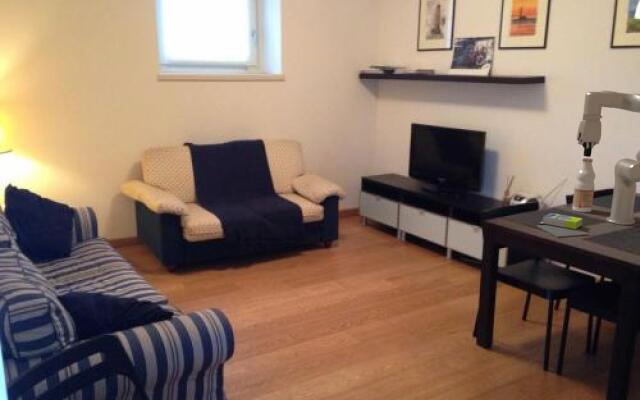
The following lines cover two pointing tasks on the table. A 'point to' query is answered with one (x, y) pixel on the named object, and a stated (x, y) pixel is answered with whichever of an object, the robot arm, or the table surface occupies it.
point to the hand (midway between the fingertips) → (587, 156)
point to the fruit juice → (584, 187)
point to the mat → (562, 231)
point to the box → (562, 221)
